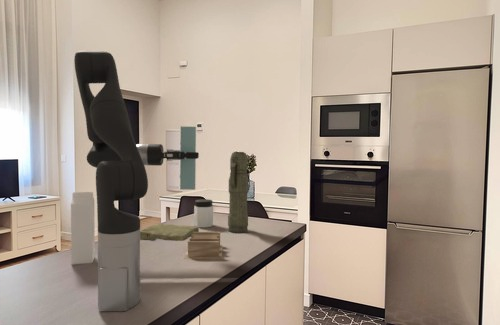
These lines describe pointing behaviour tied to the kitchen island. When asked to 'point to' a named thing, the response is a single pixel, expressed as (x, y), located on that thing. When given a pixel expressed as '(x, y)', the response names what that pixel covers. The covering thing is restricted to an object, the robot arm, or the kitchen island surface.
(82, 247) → the milk
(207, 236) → the walnut offcut
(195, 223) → the jar
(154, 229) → the decorative tile
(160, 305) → the kitchen island surface
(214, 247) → the beech rack
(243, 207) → the thermos
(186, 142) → the teal board
